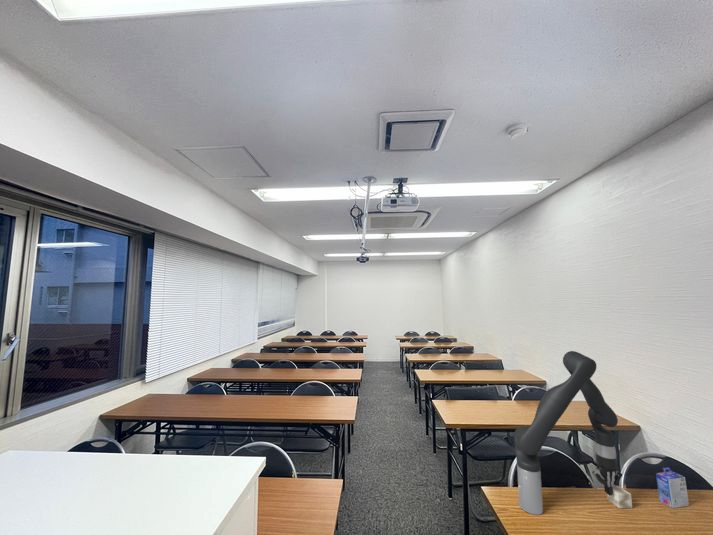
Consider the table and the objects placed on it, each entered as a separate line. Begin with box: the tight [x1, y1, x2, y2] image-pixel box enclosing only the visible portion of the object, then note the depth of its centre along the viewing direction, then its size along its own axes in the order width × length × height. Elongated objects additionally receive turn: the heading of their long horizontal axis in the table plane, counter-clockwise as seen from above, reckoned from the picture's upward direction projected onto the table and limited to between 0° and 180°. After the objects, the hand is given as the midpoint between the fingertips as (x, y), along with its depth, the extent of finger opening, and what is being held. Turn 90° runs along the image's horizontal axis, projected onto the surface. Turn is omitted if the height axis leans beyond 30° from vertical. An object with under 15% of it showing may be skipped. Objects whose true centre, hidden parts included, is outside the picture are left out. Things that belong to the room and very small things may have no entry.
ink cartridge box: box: [655, 466, 690, 509], centre depth 135 cm, size 10×6×14 cm, turn 101°
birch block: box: [606, 485, 633, 510], centre depth 134 cm, size 6×6×6 cm
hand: (609, 494), depth 134 cm, fingers closed
